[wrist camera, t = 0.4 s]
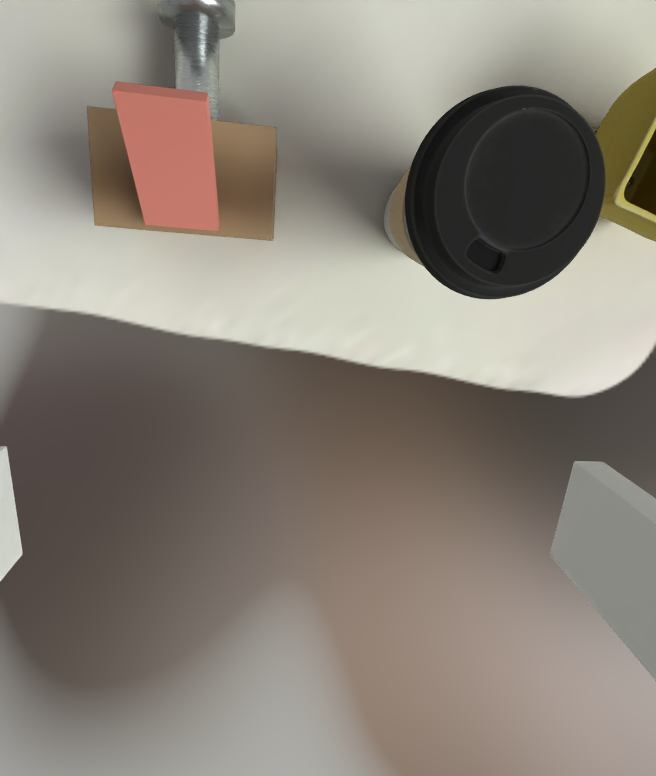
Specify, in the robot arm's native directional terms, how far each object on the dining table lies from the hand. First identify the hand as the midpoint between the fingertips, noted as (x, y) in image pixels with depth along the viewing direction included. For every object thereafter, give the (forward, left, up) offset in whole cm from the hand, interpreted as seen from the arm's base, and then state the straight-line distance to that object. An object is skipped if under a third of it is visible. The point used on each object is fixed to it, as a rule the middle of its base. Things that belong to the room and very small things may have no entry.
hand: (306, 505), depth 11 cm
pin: (-14, -7, -26) cm, 30 cm away
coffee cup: (-9, +9, -27) cm, 30 cm away
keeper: (-9, -7, -17) cm, 21 cm away
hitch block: (-9, -7, -26) cm, 29 cm away
